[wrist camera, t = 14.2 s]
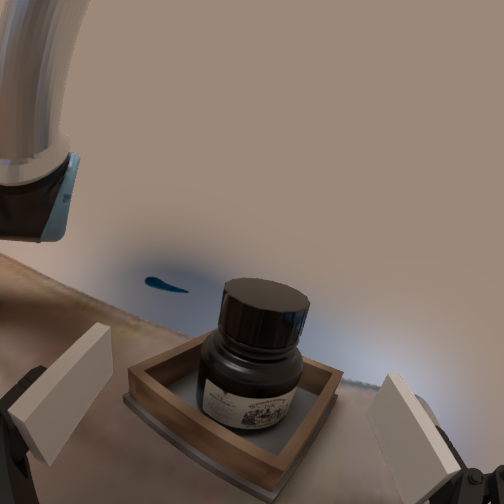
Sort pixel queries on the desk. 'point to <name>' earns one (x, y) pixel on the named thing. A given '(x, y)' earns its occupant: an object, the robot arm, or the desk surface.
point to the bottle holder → (219, 438)
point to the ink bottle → (252, 356)
